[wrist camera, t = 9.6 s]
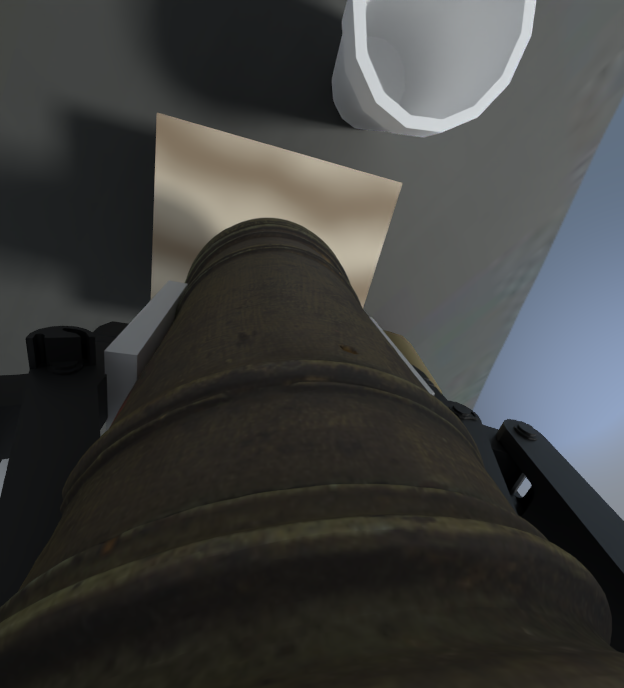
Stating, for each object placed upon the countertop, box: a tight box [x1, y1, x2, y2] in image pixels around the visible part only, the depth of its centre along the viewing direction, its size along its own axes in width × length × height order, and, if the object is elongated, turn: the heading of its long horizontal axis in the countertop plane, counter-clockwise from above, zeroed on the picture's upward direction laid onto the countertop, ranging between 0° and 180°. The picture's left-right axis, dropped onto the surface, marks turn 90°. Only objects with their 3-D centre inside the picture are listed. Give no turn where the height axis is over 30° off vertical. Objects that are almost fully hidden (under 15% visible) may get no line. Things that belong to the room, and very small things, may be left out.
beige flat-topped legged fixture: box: [151, 113, 402, 308], centre depth 28 cm, size 16×16×9 cm
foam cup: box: [332, 0, 536, 137], centre depth 22 cm, size 10×9×13 cm
